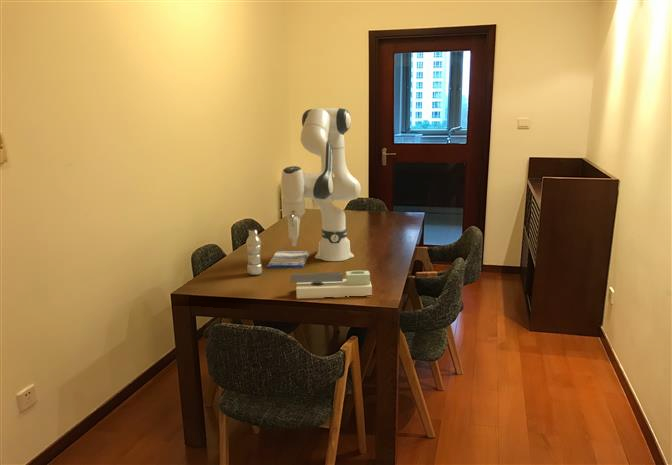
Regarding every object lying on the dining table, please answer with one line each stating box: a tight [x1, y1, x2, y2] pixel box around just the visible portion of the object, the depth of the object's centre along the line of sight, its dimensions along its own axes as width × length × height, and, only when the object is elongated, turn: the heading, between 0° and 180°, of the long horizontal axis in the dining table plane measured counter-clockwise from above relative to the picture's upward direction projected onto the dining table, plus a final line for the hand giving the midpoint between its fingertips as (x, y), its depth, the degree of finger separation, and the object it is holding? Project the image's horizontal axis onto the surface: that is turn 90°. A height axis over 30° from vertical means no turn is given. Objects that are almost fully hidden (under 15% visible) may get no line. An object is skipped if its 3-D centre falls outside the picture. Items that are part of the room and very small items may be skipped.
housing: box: [295, 278, 373, 300], centre depth 211 cm, size 10×29×4 cm, turn 93°
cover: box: [345, 269, 371, 285], centre depth 211 cm, size 5×9×5 cm, turn 93°
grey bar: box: [290, 271, 344, 284], centre depth 210 cm, size 3×20×4 cm, turn 93°
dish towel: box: [266, 250, 310, 270], centre depth 255 cm, size 17×24×3 cm
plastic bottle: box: [245, 228, 263, 276], centre depth 234 cm, size 6×7×20 cm
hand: (294, 243), depth 211 cm, fingers open, 5 cm apart
